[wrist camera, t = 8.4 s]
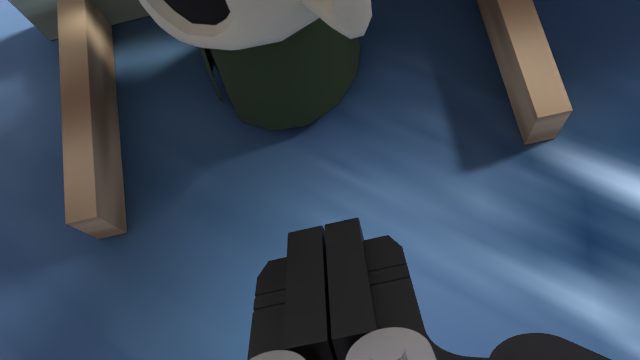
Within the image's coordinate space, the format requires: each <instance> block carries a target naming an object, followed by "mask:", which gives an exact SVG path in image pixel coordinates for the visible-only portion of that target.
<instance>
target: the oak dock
mask: <svg viewBox="0 0 640 360" xmlns="http://www.w3.org/2000/svg"><path fill="white" fill-rule="evenodd" d="M8 1H9V2H10V3H11V4H12V5H13V6H15V7H16V8H17V9H18V10H19V11H20V12H21V13H22V14H23V15H24V16H25V17H26V18H27V19H28V20H29V21H30V22H31V23H32V24H33V25H34V26H35V27H37V28H38V29H39V30H40V31H41V32H42V33H43V34H44V35H45V36H46V37H47V38H48V39H49V40H54V39H58V40H59V66H60V93H61V119H62V145H63V172H64V198H65V224H67V225H69V226H71V227H73V228H76V229H78V230H80V231H82V232H84V233H87V234H89V235H91V236H93V237H95V238H97V239H102V238H107V237H111V236H116V235H120V234H125V233H127V223H126V210H125V196H124V183H123V170H122V156H121V143H120V129H119V116H118V103H117V89H116V76H115V62H114V49H113V36H112V25H115V24H119V23H123V22H127V21H131V20H135V19H139V18H143V17H147V16H150V15H149V13H148V12H147V11H146V10H145V9H144V7H143V6H142V5H141V3H140V2H139V0H8ZM477 3H478V6H479V9H480V12H481V15H482V18H483V21H484V24H485V27H486V30H487V33H488V36H489V39H490V42H491V45H492V48H493V51H494V54H495V57H496V60H497V64H498V67H499V70H500V73H501V76H502V79H503V82H504V85H505V88H506V91H507V94H508V97H509V100H510V103H511V106H512V109H513V112H514V115H515V118H516V121H517V124H518V127H519V130H520V133H521V136H522V139H523V142H524V145H527V144H531V143H536V142H540V141H545V140H549V139H554V138H556V137H557V135H558V134H559V132H560V130H561V129H562V127H563V125H564V124H565V122H566V120H567V119H568V117H569V116H570V114H571V112H572V111H573V109H572V106H571V104H570V101H569V98H568V96H567V93H566V90H565V87H564V85H563V82H562V79H561V77H560V74H559V71H558V68H557V66H556V63H555V60H554V58H553V55H552V52H551V49H550V47H549V44H548V41H547V39H546V36H545V33H544V30H543V28H542V25H541V22H540V20H539V17H538V14H537V11H536V9H535V6H534V3H533V1H532V0H477Z"/></svg>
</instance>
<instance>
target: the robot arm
mask: <svg viewBox="0 0 640 360" xmlns="http://www.w3.org/2000/svg"><path fill="white" fill-rule="evenodd" d="M255 296H256V298H255V300H254V313H253V317H252V326H251V334H250V342H249V351H248V359H247V360H611V359H609V358H606V357H604V356H602V355H600V354H597V353H595V352H593V351H591V350H588V349H586V348H584V347H582V346H579V345H577V344H575V343H573V342H570V341H568V340H566V339H563V338H561V337H558V336H554V335H550V334H544V333H528V334H521V335H517V336H514V337H511V338H509V339H507V340H505V341H503V342H502V343H501V344H499V345H498V346H497V347H496V348H495V349H494V350H493V352H492V353H491V355H490V357H489V358H478V357H466V356H460V355H456V354H452V353H450V352H447V351H445V350H443V349H441V348H440V347H438V346H437V345H435V344H434V343H433V342H432V341H431V340H430V338H429V337H428V335H427V334H426V331H425V329H424V325H423V321H422V318H421V314H420V310H419V307H418V303H417V300H416V296H415V292H414V289H413V285H412V281H411V278H410V274H409V271H408V267H407V263H406V260H405V256H404V252H403V249H402V246H400V245H399V244H398V243H397V242H396V241H394V240H393V239H392V238H391V237H390V236H388V235H387V236H382V237H378V238H373V239H368V240H364V237H363V233H362V229H361V225H360V221H359V218H354V219H349V220H344V221H340V222H335V223H331V224H326V225H325V230H324V228H323V226H317V227H313V228H308V229H304V230H299V231H295V232H290V233H288V247H287V257H285V258H281V259H276V260H271V261H268V263H267V264H266V266H265V267H264V269H263V270H262V272H261V273H260V274H259V276H258V277H257V284H256V292H255Z"/></svg>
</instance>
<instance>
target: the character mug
mask: <svg viewBox="0 0 640 360" xmlns="http://www.w3.org/2000/svg"><path fill="white" fill-rule="evenodd" d="M139 2H140V3H141V5H142V6H143V7H144V9H145V10H146V11H147V12H148V13H149V15H150V16H151V17H152V18H153V20H154V21H155V22H156V23H157V24H158V25H159V26H160V27H161V28H162V29H164V30H165V31H166V32H167V33H169V34H170V35H172V36H173V37H174V38H176V39H177V40H179V41H180V42H183V43H187V44H190V45H193V46H196V47H200V49H201V52H202V56H203V59H204V62H205V65H206V68H207V71H208V74H209V76H210V79H211V81H212V83H213V86H214V88H215V90H216V92H217V95H218V97H219V99H220V100H221V101H222V102H223V103H224V101H223V99H222V97H221V95H220V92H219V90H218V88H217V85H216V83H215V80H214V77H213V73H212V71H213V66H214V64H215V66H216V68H217V70H218V72H219V74H220V76H221V78H222V81H223V83H224V86H225V89H226V91H227V94H228V96H229V98H230V100H231V102H232V105H233V107H234V109H235V111H236V113H237V115H238V117H239V118H240V119H241V120H242V121H243V122H244V123H248V124H251V125H255V126H259V127H263V128H266V129H270V130H281V129H288V128H294V127H301V126H307V125H310V124H311V123H312V122H314V121H315V120H317V119H318V118H319V117H321V116H322V115H323V114H325V113H326V112H328V111H329V110H330V109H332V108H333V107H335V106H336V105H337V104H338V103H339V102H340V100H341V99H342V97H343V96H344V94H345V93H346V91H347V90H348V88H349V87H350V85H351V84H352V83H353V81H354V80H355V78H356V77H357V70H358V63H359V56H360V49H361V47H360V43H359V40H358V37H361V36H364V34H365V32H366V30H367V27H368V25H369V22H370V20H371V17H372V8H371V0H139Z"/></svg>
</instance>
